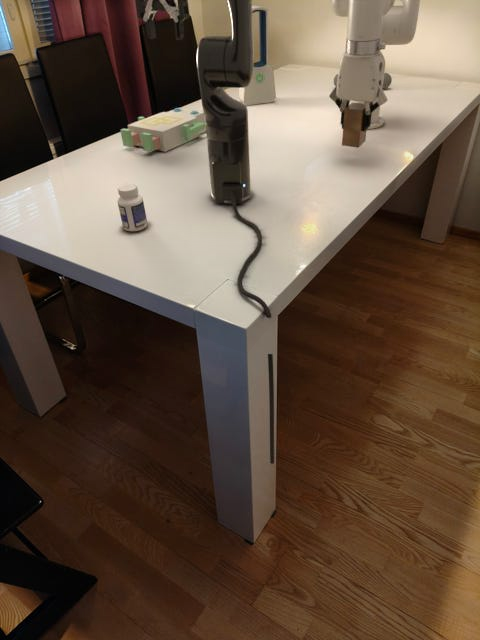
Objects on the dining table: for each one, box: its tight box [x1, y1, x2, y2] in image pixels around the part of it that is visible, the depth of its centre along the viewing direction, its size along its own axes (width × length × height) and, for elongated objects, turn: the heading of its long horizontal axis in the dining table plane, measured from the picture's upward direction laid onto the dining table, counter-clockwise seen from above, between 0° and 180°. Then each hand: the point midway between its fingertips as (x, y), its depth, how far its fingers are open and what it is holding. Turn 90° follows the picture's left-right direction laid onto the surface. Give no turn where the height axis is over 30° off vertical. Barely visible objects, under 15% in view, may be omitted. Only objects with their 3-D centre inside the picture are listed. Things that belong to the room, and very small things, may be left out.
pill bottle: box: [117, 182, 148, 232], centre depth 102 cm, size 5×5×9 cm
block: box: [341, 103, 368, 149], centre depth 123 cm, size 4×5×9 cm
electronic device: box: [238, 5, 277, 106], centre depth 173 cm, size 12×8×30 cm, turn 105°
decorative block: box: [120, 107, 206, 153], centre depth 149 cm, size 26×6×20 cm
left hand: (165, 39), depth 122 cm, fingers open, 8 cm apart
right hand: (355, 127), depth 123 cm, fingers closed on block, 4 cm apart
